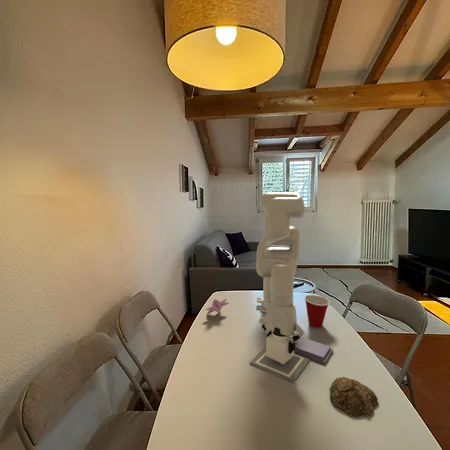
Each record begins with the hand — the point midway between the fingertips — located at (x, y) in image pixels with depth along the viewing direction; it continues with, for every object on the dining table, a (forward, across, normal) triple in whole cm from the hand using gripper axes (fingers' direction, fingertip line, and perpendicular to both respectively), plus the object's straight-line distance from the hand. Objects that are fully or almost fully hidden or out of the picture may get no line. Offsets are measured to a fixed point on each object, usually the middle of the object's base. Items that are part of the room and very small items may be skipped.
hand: (280, 347), depth 97 cm
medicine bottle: (+3, 0, 0) cm, 3 cm away
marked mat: (+5, 0, 0) cm, 5 cm away
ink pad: (+5, +7, +13) cm, 16 cm away
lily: (+6, -39, +16) cm, 43 cm away
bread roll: (+6, +24, -4) cm, 25 cm away
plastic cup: (+6, +1, +35) cm, 35 cm away
